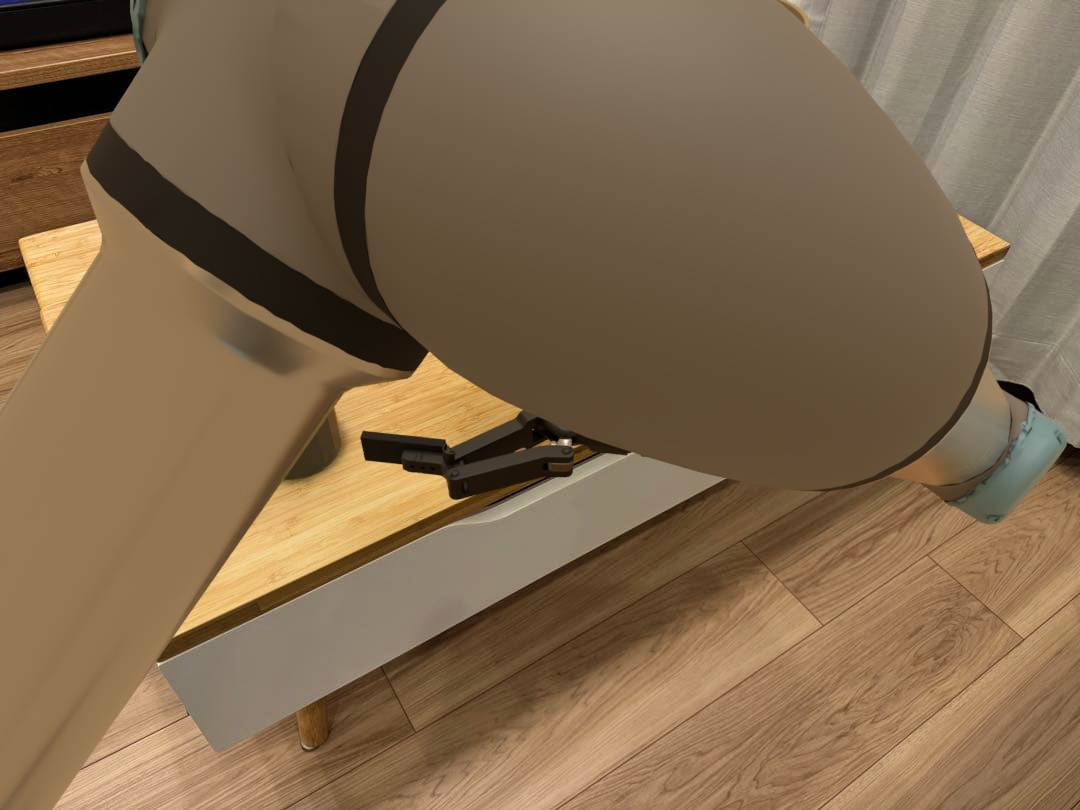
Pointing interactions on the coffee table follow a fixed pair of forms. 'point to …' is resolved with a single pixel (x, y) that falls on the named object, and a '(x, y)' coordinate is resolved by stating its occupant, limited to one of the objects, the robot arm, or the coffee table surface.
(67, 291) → the coffee table surface
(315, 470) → the cup
